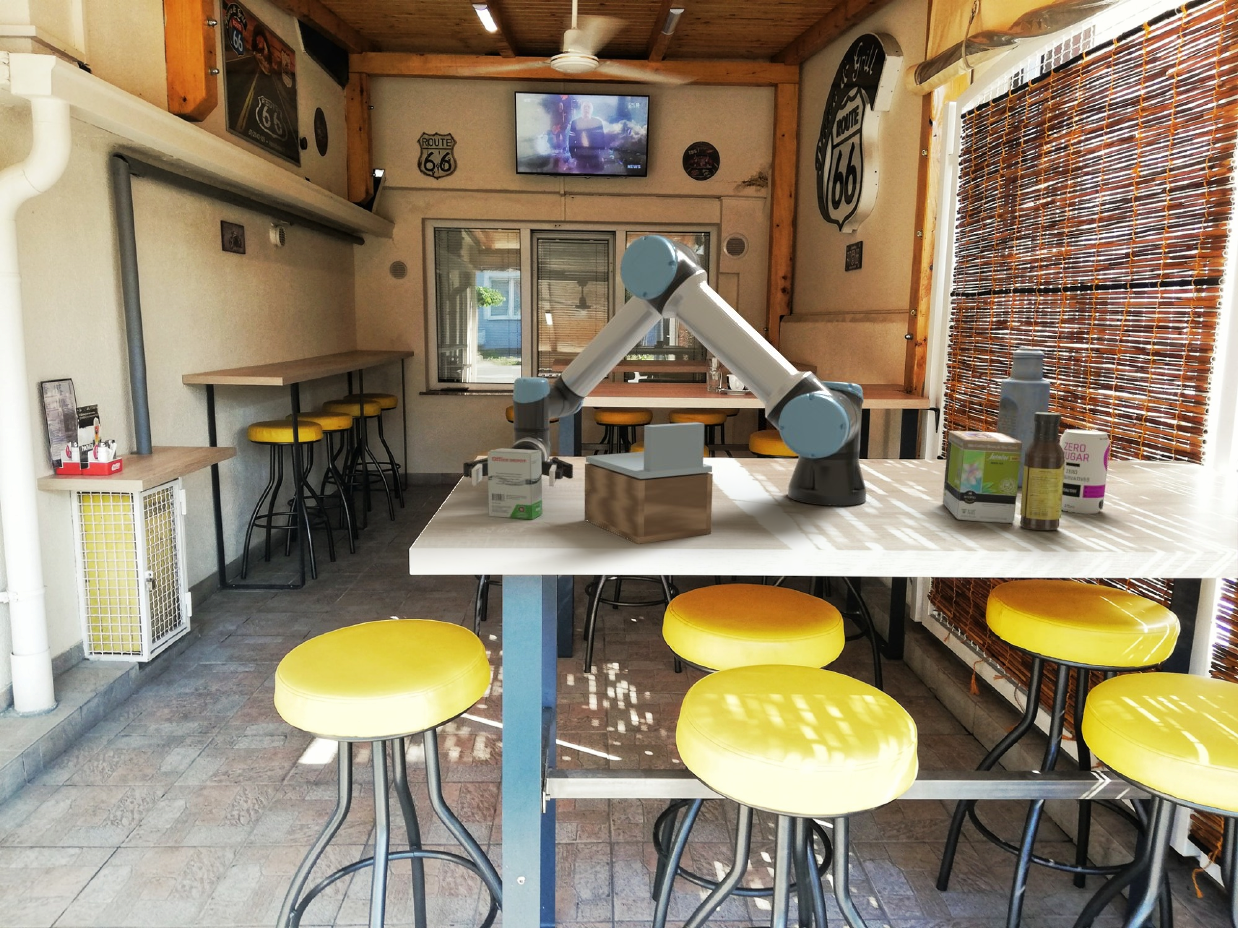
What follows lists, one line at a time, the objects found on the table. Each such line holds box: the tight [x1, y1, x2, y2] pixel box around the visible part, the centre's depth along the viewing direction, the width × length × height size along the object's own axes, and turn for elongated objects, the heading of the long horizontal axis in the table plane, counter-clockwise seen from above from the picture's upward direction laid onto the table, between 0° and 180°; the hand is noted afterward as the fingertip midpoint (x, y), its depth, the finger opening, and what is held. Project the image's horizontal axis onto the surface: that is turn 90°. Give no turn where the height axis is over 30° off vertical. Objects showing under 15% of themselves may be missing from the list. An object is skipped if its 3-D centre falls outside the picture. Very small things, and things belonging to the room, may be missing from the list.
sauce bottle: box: [1019, 412, 1065, 531], centre depth 142 cm, size 6×6×20 cm
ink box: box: [487, 447, 543, 520], centre depth 147 cm, size 9×5×12 cm, turn 71°
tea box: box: [942, 430, 1022, 524], centre depth 153 cm, size 15×10×15 cm
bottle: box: [996, 346, 1051, 488], centre depth 182 cm, size 10×10×30 cm
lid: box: [585, 421, 713, 479], centre depth 138 cm, size 18×14×8 cm
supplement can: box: [1059, 429, 1111, 515], centre depth 157 cm, size 8×8×15 cm
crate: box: [584, 462, 714, 545], centre depth 140 cm, size 18×14×10 cm
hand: (512, 478), depth 146 cm, fingers open, 13 cm apart
